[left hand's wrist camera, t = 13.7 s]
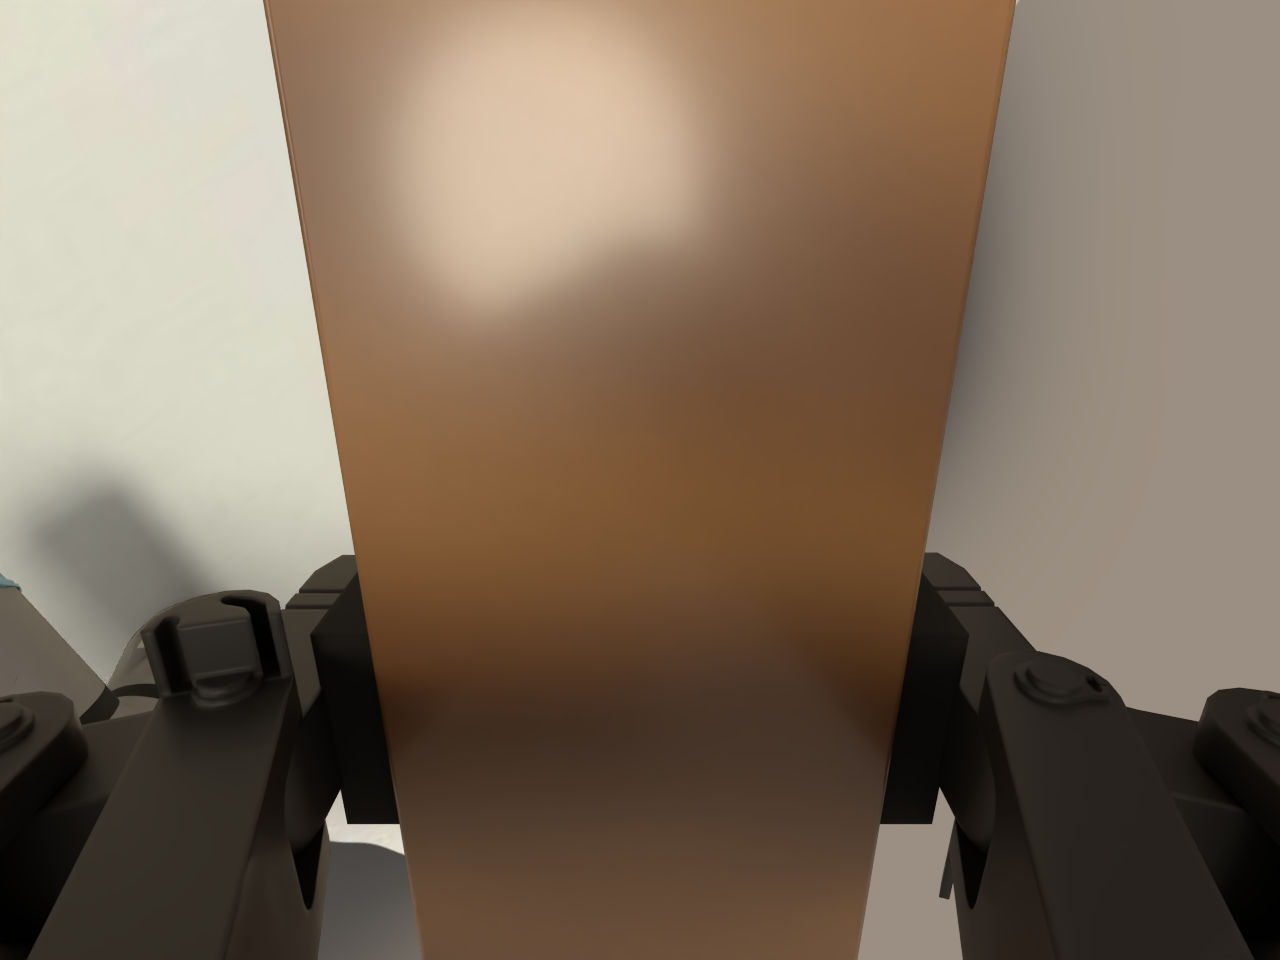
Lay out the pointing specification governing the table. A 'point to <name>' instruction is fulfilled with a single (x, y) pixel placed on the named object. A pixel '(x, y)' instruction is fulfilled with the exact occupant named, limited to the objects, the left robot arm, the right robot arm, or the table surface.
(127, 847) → the left robot arm
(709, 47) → the post
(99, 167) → the table surface
